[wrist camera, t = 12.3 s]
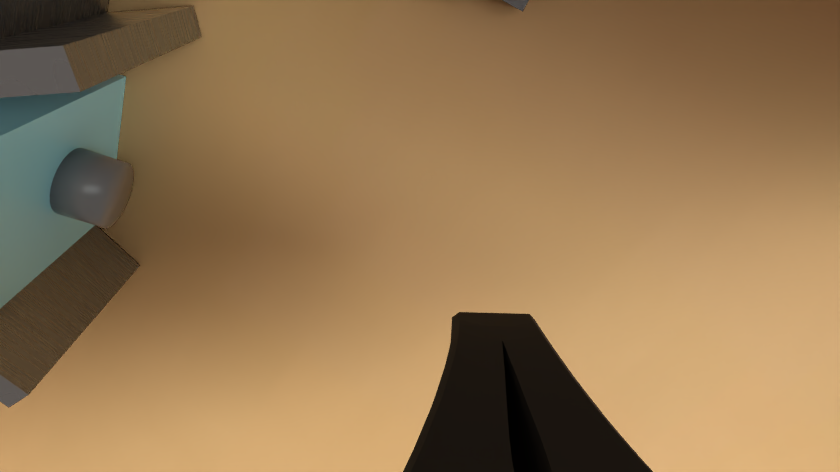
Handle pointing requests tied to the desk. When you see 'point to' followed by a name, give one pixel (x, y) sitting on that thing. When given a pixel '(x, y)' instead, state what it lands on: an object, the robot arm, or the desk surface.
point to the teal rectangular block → (57, 176)
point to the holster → (517, 3)
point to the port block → (95, 252)
